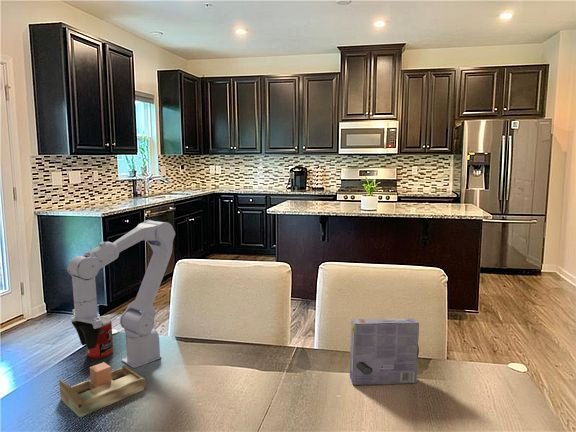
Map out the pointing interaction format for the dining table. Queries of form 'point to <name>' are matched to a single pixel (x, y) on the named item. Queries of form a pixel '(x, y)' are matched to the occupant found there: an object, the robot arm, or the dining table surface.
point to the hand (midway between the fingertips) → (88, 346)
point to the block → (100, 374)
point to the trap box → (101, 391)
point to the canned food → (103, 341)
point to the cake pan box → (384, 351)
